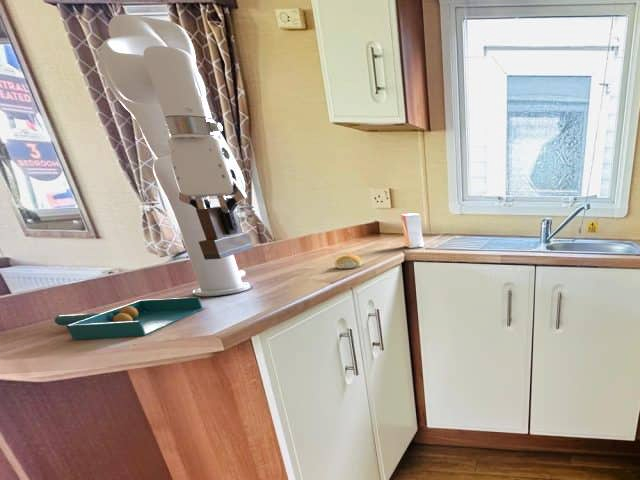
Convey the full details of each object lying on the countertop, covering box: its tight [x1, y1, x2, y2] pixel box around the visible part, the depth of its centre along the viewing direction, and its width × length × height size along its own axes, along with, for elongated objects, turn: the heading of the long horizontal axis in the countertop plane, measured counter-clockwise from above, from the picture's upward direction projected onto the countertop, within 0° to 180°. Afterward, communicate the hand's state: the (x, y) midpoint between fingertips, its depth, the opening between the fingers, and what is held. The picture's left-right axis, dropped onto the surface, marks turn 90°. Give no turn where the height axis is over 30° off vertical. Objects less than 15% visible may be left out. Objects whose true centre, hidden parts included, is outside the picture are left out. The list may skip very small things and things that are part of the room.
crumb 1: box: [114, 313, 133, 322], centre depth 82 cm, size 3×3×3 cm
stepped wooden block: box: [196, 205, 254, 260], centre depth 86 cm, size 14×3×9 cm, turn 5°
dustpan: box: [53, 296, 203, 341], centre depth 85 cm, size 22×19×3 cm
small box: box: [400, 213, 425, 249], centre depth 179 cm, size 8×6×13 cm
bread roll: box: [334, 253, 363, 270], centre depth 139 cm, size 8×9×4 cm
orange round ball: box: [120, 305, 138, 319], centre depth 87 cm, size 3×3×3 cm
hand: (224, 233), depth 87 cm, fingers closed on stepped wooden block, 2 cm apart
